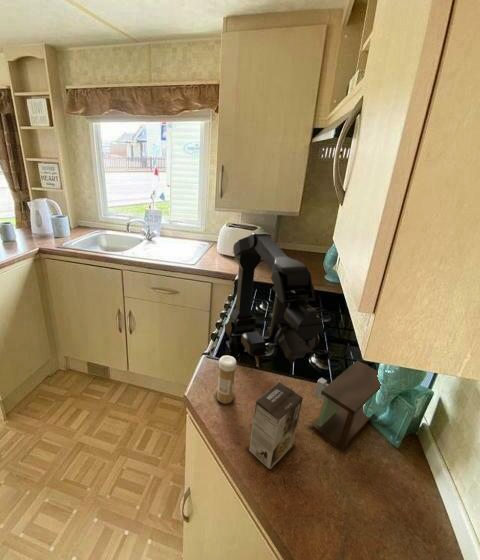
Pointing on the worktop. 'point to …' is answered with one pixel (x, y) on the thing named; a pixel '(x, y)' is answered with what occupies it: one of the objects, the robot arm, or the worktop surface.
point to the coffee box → (274, 424)
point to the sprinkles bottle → (226, 379)
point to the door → (324, 403)
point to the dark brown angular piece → (348, 403)
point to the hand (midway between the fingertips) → (275, 365)
